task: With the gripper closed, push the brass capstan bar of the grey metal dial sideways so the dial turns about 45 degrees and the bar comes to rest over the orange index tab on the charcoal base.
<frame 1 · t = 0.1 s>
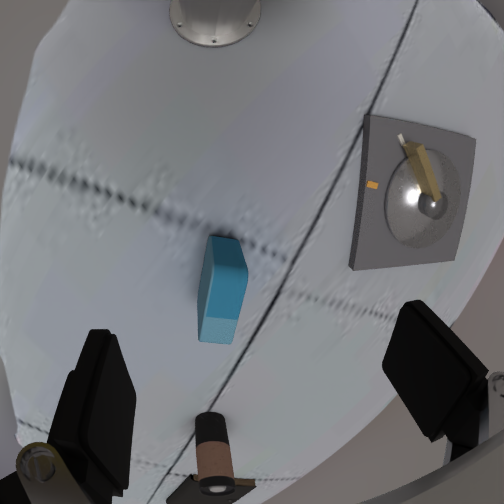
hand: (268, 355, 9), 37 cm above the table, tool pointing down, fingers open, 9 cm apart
travel mug: (209, 419, 65), on the table
dial base: (417, 196, 49), on the table
data package: (216, 268, 49), on the table
capstan dial: (430, 197, 45), point 4 cm above the table, hinge at 0.0°
dark notebook: (207, 490, 87), on the table
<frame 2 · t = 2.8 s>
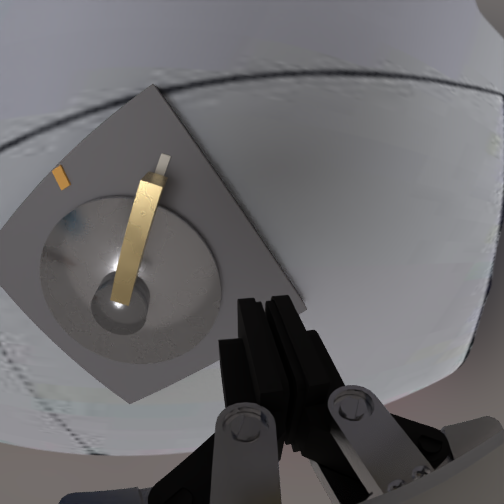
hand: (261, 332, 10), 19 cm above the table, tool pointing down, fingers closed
dial base: (130, 277, 29), on the table
capstan dial: (124, 290, 25), point 4 cm above the table, hinge at 0.0°
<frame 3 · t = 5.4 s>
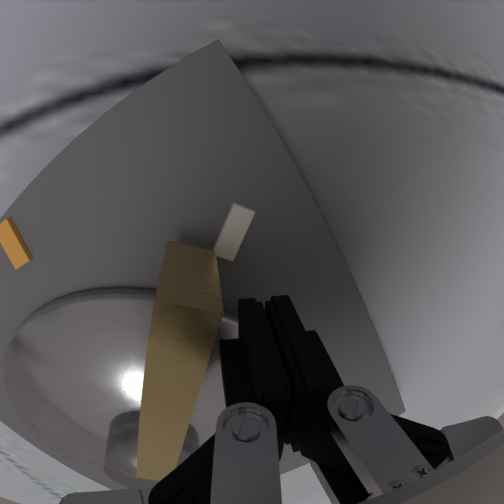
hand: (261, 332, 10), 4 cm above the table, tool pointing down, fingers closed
dial base: (156, 394, 17), on the table
capstan dial: (154, 443, 12), point 4 cm above the table, hinge at 6.7°, touching gripper
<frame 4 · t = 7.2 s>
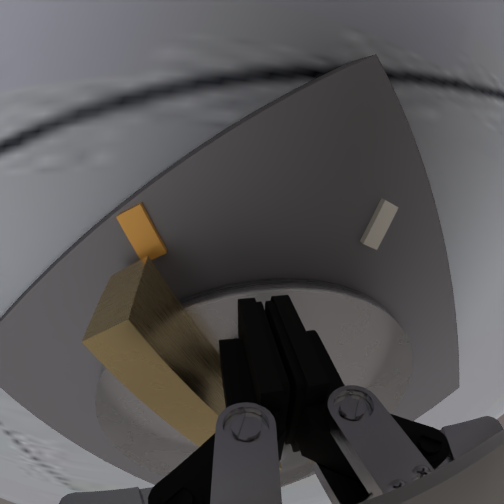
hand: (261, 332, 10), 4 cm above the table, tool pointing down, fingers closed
dial base: (254, 388, 18), on the table
capstan dial: (259, 438, 13), point 4 cm above the table, hinge at 48.1°, touching gripper
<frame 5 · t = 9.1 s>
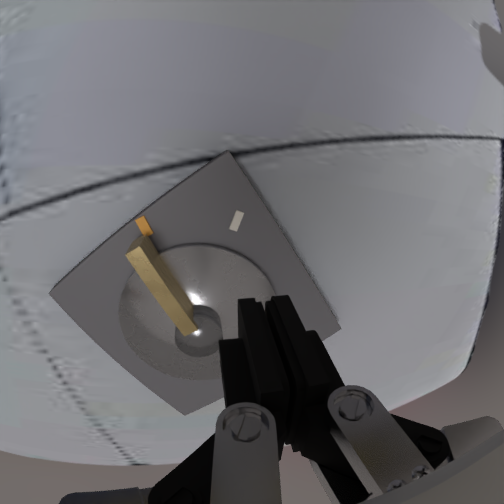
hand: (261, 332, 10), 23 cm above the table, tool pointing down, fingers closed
dial base: (198, 308, 36), on the table
capstan dial: (192, 322, 31), point 4 cm above the table, hinge at 48.2°
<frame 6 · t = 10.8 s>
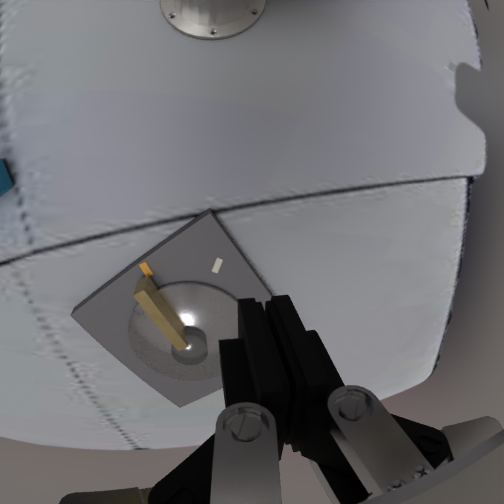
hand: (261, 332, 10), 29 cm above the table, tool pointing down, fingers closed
dial base: (189, 325, 45), on the table
capstan dial: (184, 339, 40), point 4 cm above the table, hinge at 48.2°
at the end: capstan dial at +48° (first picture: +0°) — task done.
